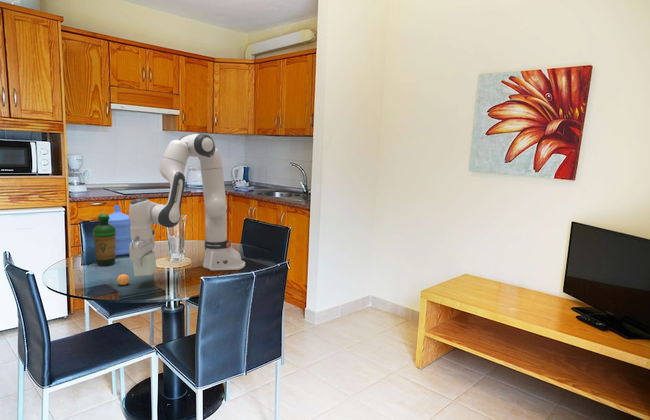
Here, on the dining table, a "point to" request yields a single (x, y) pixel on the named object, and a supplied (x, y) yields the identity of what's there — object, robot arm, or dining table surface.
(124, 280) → the ball
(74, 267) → the dining table surface
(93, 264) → the dining table surface
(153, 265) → the beige rounded cube
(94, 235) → the bottle
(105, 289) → the dining table surface
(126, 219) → the water jug
